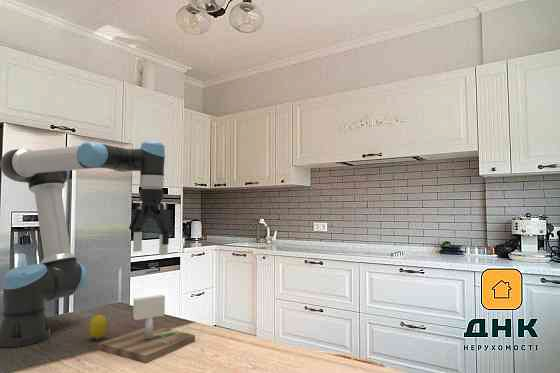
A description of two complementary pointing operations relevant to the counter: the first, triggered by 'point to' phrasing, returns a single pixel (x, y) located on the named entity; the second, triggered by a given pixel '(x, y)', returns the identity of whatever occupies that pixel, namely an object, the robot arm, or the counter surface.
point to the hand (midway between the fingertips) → (149, 253)
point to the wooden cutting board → (146, 344)
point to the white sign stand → (149, 312)
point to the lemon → (98, 326)
